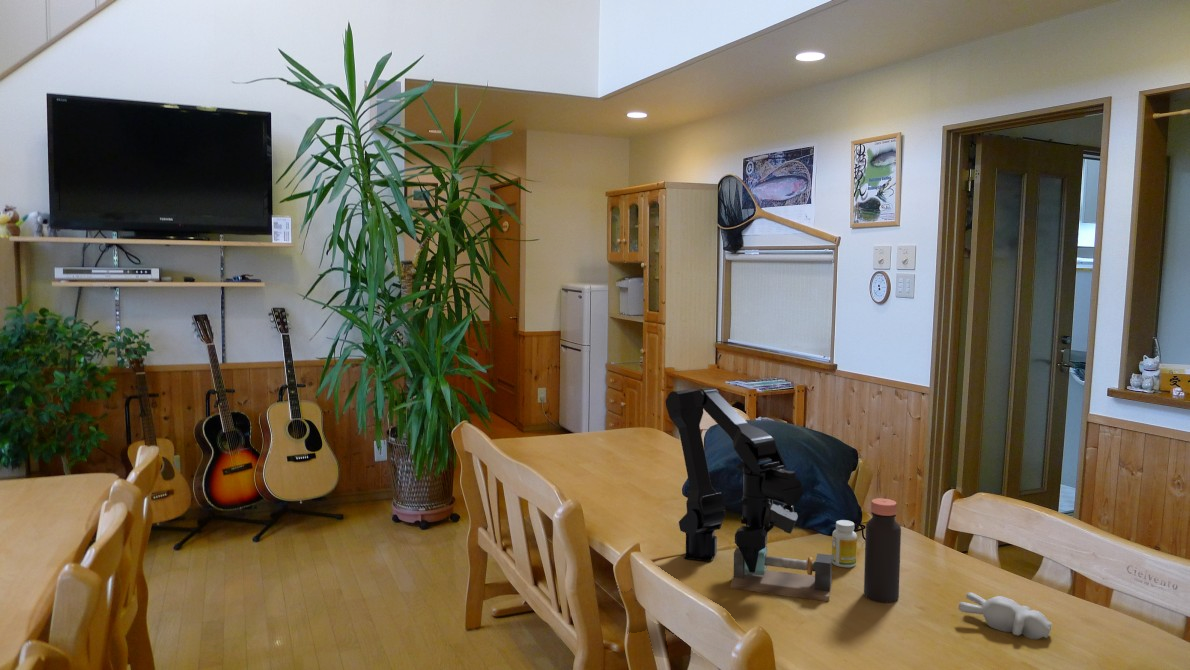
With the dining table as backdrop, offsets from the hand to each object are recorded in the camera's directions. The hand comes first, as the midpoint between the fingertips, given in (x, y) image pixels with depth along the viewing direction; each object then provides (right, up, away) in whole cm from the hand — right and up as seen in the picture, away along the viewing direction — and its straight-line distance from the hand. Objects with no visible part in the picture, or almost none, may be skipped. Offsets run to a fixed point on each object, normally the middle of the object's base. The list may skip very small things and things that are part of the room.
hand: (755, 564), depth 172 cm
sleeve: (0, -1, 0) cm, 1 cm away
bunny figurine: (+43, -6, -21) cm, 48 cm away
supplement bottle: (+22, -3, +10) cm, 25 cm away
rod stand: (+5, -4, -1) cm, 7 cm away
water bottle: (+24, -5, -7) cm, 26 cm away
